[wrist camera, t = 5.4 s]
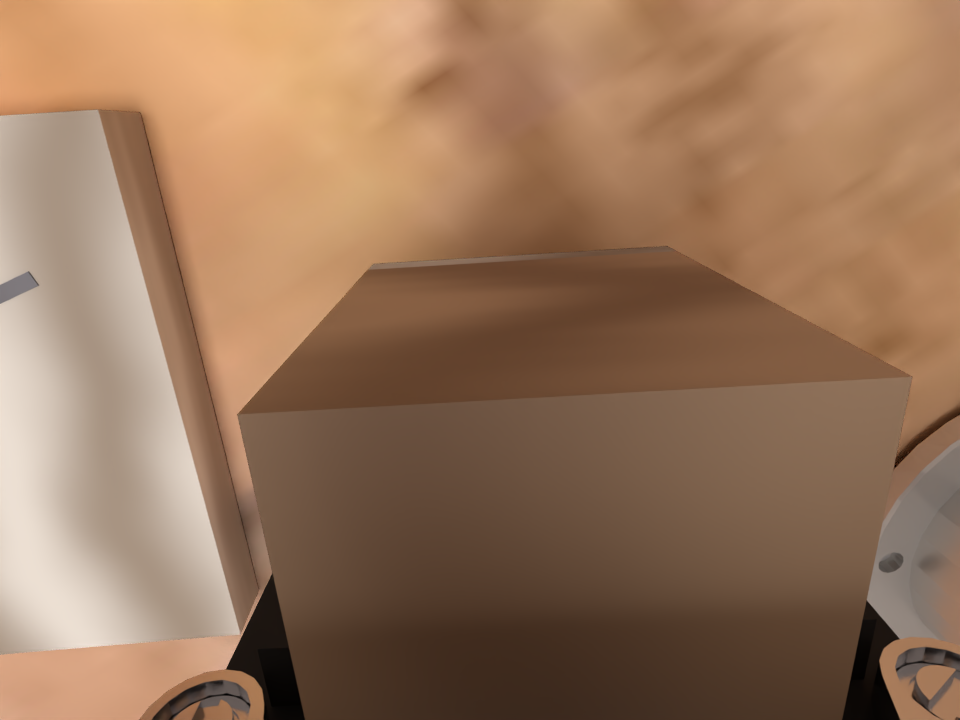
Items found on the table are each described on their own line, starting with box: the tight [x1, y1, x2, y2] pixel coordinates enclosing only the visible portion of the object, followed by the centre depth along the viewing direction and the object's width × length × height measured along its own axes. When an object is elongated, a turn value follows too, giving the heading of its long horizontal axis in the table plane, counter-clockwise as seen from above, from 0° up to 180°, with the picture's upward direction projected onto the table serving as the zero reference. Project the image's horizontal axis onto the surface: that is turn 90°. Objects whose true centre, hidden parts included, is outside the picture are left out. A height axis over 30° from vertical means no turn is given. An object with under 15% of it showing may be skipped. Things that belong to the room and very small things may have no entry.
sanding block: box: [237, 246, 912, 720], centre depth 9 cm, size 5×9×6 cm, turn 4°
